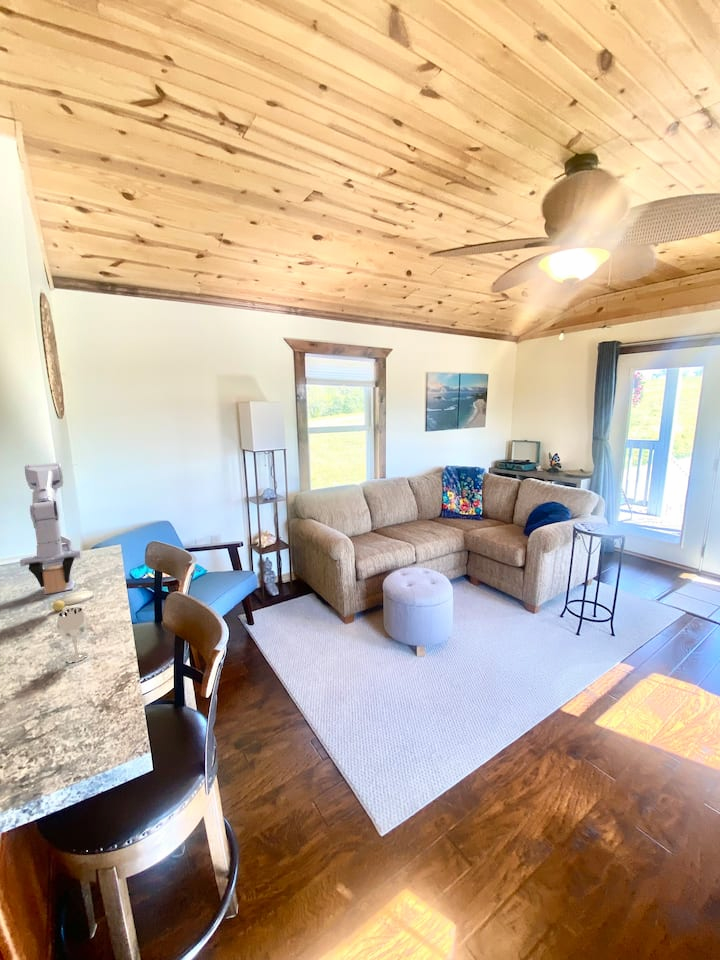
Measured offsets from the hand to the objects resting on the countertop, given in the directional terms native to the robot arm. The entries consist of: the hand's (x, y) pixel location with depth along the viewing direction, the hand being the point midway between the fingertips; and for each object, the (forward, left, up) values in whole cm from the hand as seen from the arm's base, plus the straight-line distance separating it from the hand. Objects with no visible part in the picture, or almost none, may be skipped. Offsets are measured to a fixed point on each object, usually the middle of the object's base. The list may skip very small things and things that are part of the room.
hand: (55, 583), depth 122 cm
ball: (0, 0, -9) cm, 9 cm away
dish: (-7, +4, -9) cm, 12 cm away
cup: (0, 0, -2) cm, 2 cm away
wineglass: (+34, +9, -9) cm, 36 cm away
